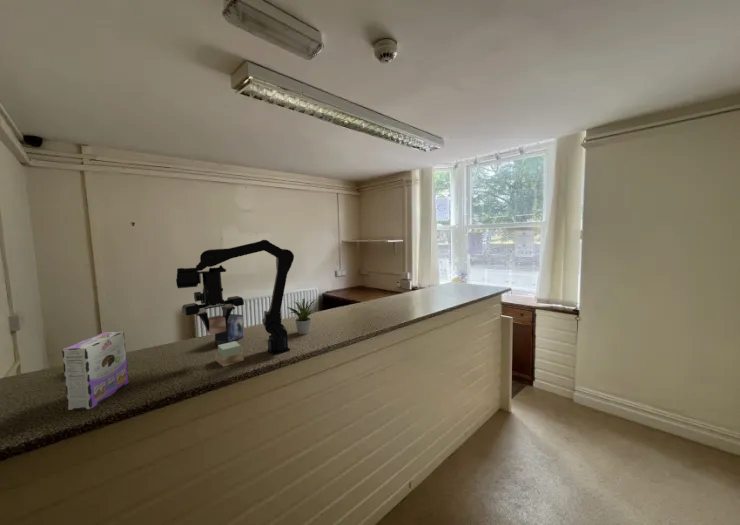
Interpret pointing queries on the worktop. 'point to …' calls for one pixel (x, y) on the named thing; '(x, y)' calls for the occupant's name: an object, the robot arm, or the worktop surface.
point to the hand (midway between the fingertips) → (216, 328)
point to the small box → (231, 330)
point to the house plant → (302, 317)
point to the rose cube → (216, 324)
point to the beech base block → (229, 359)
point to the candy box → (95, 369)
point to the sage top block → (229, 349)
